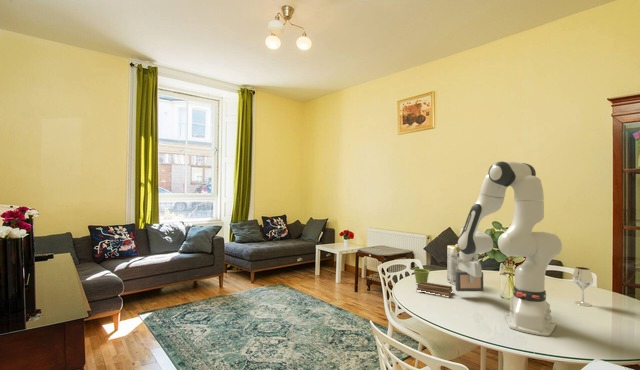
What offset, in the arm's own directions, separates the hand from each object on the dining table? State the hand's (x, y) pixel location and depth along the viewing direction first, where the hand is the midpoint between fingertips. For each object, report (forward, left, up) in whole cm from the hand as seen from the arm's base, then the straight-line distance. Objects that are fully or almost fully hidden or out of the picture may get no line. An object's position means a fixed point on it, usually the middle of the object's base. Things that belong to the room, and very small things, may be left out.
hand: (469, 282), depth 175 cm
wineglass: (+21, -49, -8) cm, 54 cm away
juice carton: (+23, +12, -8) cm, 27 cm away
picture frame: (0, 0, -5) cm, 5 cm away
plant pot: (+7, +28, -8) cm, 30 cm away
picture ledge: (-3, +18, -8) cm, 19 cm away
